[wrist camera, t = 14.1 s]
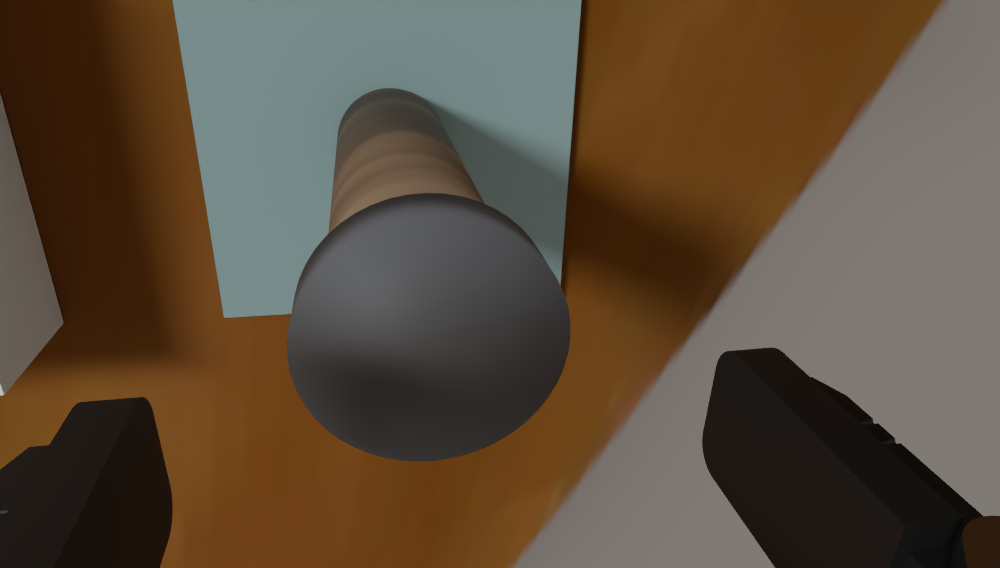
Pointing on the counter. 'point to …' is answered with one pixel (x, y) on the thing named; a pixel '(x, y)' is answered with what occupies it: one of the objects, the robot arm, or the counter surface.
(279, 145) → the mat
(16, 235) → the eye block
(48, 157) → the counter surface
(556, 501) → the counter surface
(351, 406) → the pin
